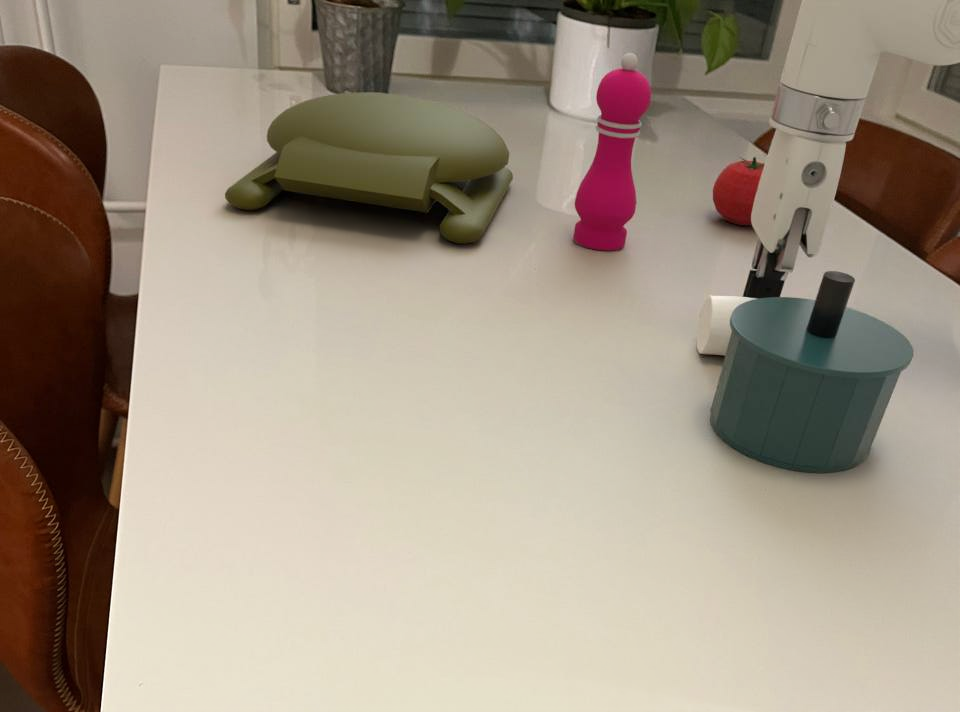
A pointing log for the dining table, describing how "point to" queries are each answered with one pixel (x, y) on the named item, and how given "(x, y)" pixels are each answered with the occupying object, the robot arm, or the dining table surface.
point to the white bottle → (716, 323)
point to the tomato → (737, 190)
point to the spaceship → (384, 158)
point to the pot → (796, 412)
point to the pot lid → (822, 333)
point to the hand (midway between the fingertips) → (755, 313)
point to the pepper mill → (612, 160)
